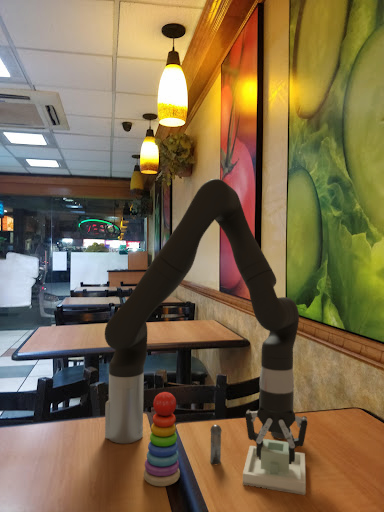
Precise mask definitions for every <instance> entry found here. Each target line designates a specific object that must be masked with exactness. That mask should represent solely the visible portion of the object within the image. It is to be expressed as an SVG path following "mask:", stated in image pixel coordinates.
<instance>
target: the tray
mask: <svg viewBox="0 0 384 512" xmlns="http://www.w3.org/2000/svg"><path fill="white" fill-rule="evenodd" d="M305 455H306V453H305V452H297V451H295V461H294V462H292V463H291V464H289V473H284V472H278V475H277V474H271V473H270V472H271V470H264V469H261V460H259V457H257V455H256V445H249V447H248V451H247V456H246V459H245V464H244V468H243V471H242V485H243V484H244V485H243V486H248V485H249V487H254V486H256V487H255V488H260V487H262V488H261V489H266V488H267V490H272V491H278V492H284V493H285V492H286V493H291V494H295V495H296V494H297V495H303V496H306V489H307V488H306V485H307V483H306V481H307V480H306V456H305Z"/></svg>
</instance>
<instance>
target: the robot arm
mask: <svg viewBox="0 0 384 512" xmlns="http://www.w3.org/2000/svg"><path fill="white" fill-rule="evenodd" d="M214 221H215V222H216V223H217V224H218V225H219V227H220V228H221V230H222V231H223V232H224V234H225V236H226V238H227V240H228V242H229V244H230V248H231V251H232V256H233V259H234V263H235V265H236V268H237V270H238V272H239V274H240V276H241V278H242V280H243V282H244V284H245V286H246V287H247V290H248V293H249V299H250V302H251V303H250V304H251V307H252V310H253V314H254V317H255V319H256V321H257V322H258V323H259V325H260V326H261V327H263V329H265V330H266V331H269V334H268V337H267V338H266V339H265V340H264V341H263V342H262V345H261V356H260V357H261V358H260V359H261V361H260V364H261V365H260V372H259V373H260V374H259V381H258V383H259V407H258V409H257V410H255V411H254V410H253V411H252V410H251V409H247V410H246V413H245V415H244V417H245V422H246V423H245V424H246V432H247V437H248V439H249V440H250V441H253V442H255V443H256V445H255V446H256V455H257V457H259V460H261V449H262V447H263V439H265V437H266V435H267V433H268V432H269V433H271V432H278V433H282V434H283V433H284V436H285V438H284V439H285V440H286V442H288V444H289V464H291V463H292V462H294V461H295V452H296V448H297V447H303V446H304V444H305V437H306V432H307V428H308V417H307V416H305V415H303V416H298V415H296V414H295V411H294V395H295V394H294V392H295V391H294V388H295V381H294V380H295V377H294V346H295V345H294V344H295V342H296V339H297V334H298V328H299V322H300V312H299V309H298V306H297V304H296V302H295V301H294V300H293V299H291V298H289V297H286V296H284V297H283V296H282V297H278V296H277V293H276V291H275V290H276V289H275V288H274V287H275V286H276V285H277V277H276V275H275V272H274V271H273V269H272V267H271V265H270V264H269V262H268V260H267V257H266V256H265V254H264V253H263V250H262V249H261V247H260V246H259V243H258V242H257V240H256V238H255V237H254V234H253V232H252V230H251V228H250V225H249V223H248V220H247V218H246V215H245V212H244V208H243V206H242V203H241V200H240V197H239V195H238V192H237V191H236V190H235V188H234V189H233V187H231V185H229V184H228V183H227V182H226V181H224V180H223V179H220V178H213V179H209V180H207V181H205V182H204V183H203V184H202V185H201V186H200V187H199V189H197V191H196V193H195V195H194V196H193V198H192V200H191V202H190V203H189V206H188V207H187V208H186V211H185V213H184V214H183V216H182V218H181V219H180V221H179V223H178V224H177V226H175V228H174V230H173V231H172V233H171V235H170V236H169V237H168V239H167V240H166V242H165V243H164V245H163V246H162V247H161V249H160V250H159V251H158V253H157V254H156V256H155V257H154V258H153V259H152V261H151V263H150V265H149V266H148V268H147V269H146V271H145V272H144V274H143V275H142V277H141V278H140V279H139V281H138V283H137V284H136V286H135V287H134V289H133V291H132V292H131V294H130V295H129V297H128V298H126V300H125V302H124V303H122V305H121V306H120V307H119V309H118V310H116V311H115V313H114V314H113V315H112V316H111V318H110V319H108V322H107V323H106V324H105V325H106V326H105V328H104V339H105V342H106V345H108V346H109V348H111V349H113V350H114V354H113V355H112V358H111V360H110V362H109V363H108V400H107V401H106V402H105V406H104V407H105V409H104V410H105V414H104V417H105V418H104V420H105V422H104V439H108V440H109V441H111V442H113V443H116V444H130V443H131V444H132V443H135V442H137V441H139V440H141V439H142V437H143V435H144V434H143V431H144V425H143V424H144V375H145V374H144V371H145V369H144V368H145V363H146V360H147V353H148V352H147V351H148V350H147V349H148V325H147V321H148V319H149V318H150V316H151V315H152V314H153V312H154V311H155V310H156V309H157V308H158V307H159V306H160V305H161V304H163V302H164V301H166V300H167V299H168V298H169V297H170V296H171V294H173V293H174V292H175V291H176V290H177V288H178V287H179V286H180V285H181V283H182V282H183V280H184V279H185V278H186V276H187V275H188V273H189V272H190V271H191V269H192V267H193V265H194V261H195V259H196V256H197V252H198V248H199V246H200V243H201V241H202V238H203V236H204V234H205V233H206V231H207V230H208V229H209V227H210V226H211V225H212V223H214ZM256 418H258V420H259V421H260V423H261V424H262V425H261V427H260V429H259V431H258V433H257V432H255V425H254V422H255V421H256ZM295 422H296V426H297V427H298V428H299V431H298V435H297V436H298V437H296V438H295V437H294V435H293V432H292V429H291V426H292V425H293V424H294V423H295Z"/></svg>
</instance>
